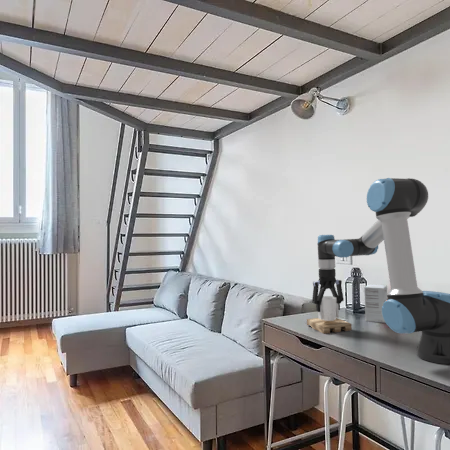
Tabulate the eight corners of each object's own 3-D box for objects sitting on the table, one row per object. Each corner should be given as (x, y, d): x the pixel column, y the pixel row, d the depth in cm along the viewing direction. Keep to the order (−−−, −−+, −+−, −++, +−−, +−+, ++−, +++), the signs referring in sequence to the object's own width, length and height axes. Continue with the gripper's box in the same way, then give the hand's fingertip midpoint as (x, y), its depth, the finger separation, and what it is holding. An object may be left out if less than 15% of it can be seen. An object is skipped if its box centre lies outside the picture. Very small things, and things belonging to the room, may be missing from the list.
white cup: (335, 317, 192) (335, 295, 191) (338, 321, 184) (338, 299, 184) (318, 317, 192) (317, 296, 192) (320, 321, 184) (320, 299, 184)
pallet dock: (351, 330, 184) (351, 323, 184) (323, 333, 181) (323, 326, 181) (332, 322, 200) (332, 316, 200) (307, 325, 196) (306, 319, 196)
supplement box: (369, 317, 208) (368, 284, 208) (388, 318, 204) (387, 284, 204) (365, 321, 200) (363, 286, 200) (384, 323, 195) (383, 287, 195)
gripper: (342, 266, 194) (343, 314, 194) (302, 268, 189) (304, 318, 189) (351, 267, 187) (352, 317, 187) (310, 270, 181) (312, 321, 182)
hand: (328, 317), depth 188 cm, fingers closed on white cup, 8 cm apart
